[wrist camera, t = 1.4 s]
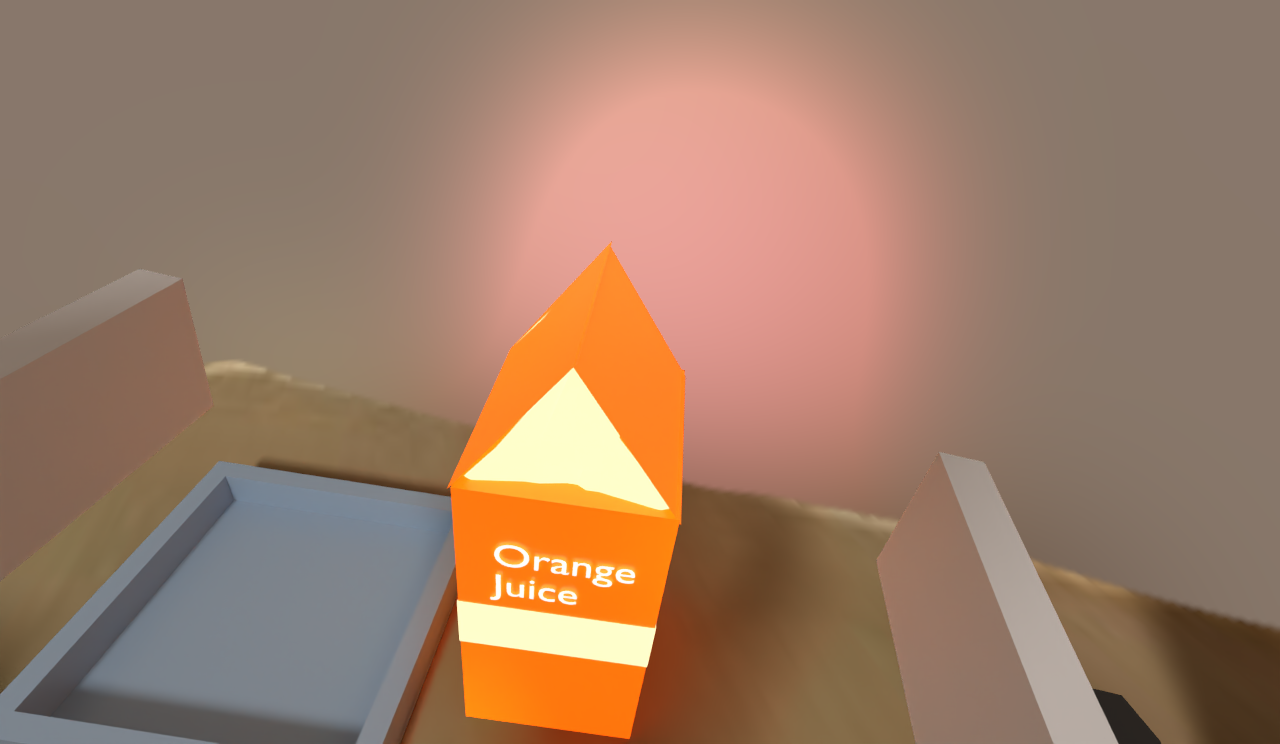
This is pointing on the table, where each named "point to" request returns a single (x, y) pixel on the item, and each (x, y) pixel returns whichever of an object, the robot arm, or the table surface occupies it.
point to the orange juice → (570, 513)
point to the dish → (253, 621)
